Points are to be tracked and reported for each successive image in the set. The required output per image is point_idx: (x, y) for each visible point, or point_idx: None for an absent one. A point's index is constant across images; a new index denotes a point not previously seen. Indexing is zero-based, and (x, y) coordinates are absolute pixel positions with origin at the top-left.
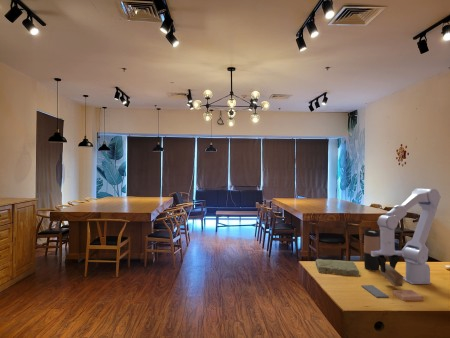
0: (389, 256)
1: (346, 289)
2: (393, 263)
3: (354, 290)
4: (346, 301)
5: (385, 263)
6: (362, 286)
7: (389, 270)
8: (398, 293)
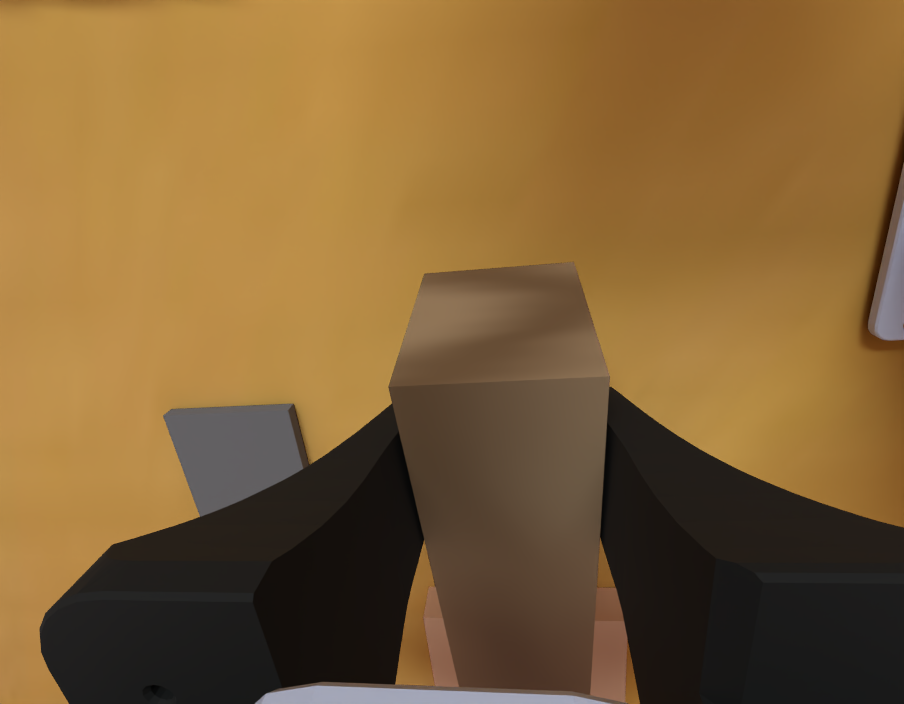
0: (702, 628)
1: (22, 483)
2: (633, 640)
3: (93, 506)
4: (32, 677)
5: (396, 660)
6: (173, 434)
7: (464, 608)
8: (437, 679)
